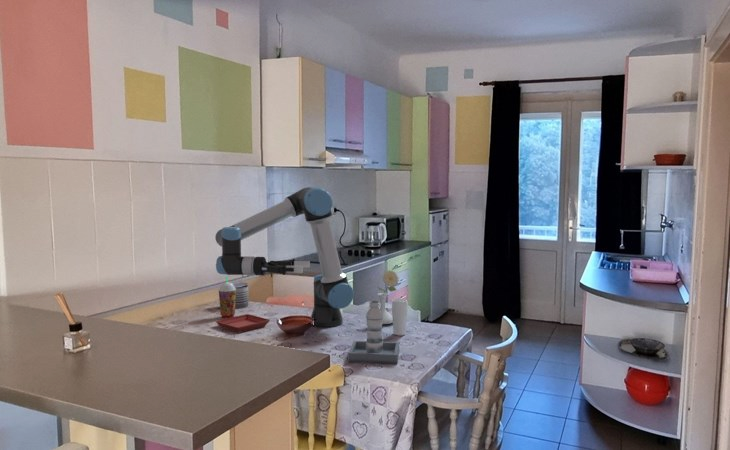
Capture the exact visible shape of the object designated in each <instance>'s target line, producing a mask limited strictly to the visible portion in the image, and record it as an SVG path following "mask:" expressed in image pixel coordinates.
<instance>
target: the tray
mask: <svg viewBox="0 0 730 450" xmlns="http://www.w3.org/2000/svg"><path fill="white" fill-rule="evenodd" d="M352 341H353V342H352V344H351V346H350V347H349V350H348V352H347V363H352V364H377V365H378V364H380V365H398V363H399V362H398V360H399V354H400V342H399V341H395V342H394V341H382V342H383V351H382V353H367V352H366V342H367V340H352Z"/></svg>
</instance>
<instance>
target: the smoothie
mask: <svg viewBox="0 0 730 450" xmlns="http://www.w3.org/2000/svg"><path fill="white" fill-rule="evenodd" d="M228 277H229V275H227V276H226V282H223V283H221V285H220V286H219V289H218V298H219V299H218V300H219V313H220V316H221V318H222V319H226V318H231V317H235V315H236V309H235V300H236V288H235V286H234V285H233V283H232V282H230V281H229V278H228Z"/></svg>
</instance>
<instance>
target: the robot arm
mask: <svg viewBox="0 0 730 450" xmlns="http://www.w3.org/2000/svg"><path fill="white" fill-rule="evenodd" d="M332 208H333V199H332V195H331V194H330V193H329V192H328V191H327V190H325V189H324V188H322V187H311V186H310V187H304V188H302V189H300V190H297V191H296V192H294V193H292V194H290V195H289V196H287V197H284V200H283V201H281V202H279V203H277V204H274V205H273V206H270V207H269V208H267V209H264V210H262V211H260V212H258V213H255V214H253V215H251V216H249V217H247V218H245V219H242V220H241V221H239V222H236V223H234V224H232V225H231V226H225V227H223V228H221V229H219V230H217V231H216V233H215V242H216V244H218V246H219V247H221V253H222V254H221V255H220V256H218V257H217V258H216V260H215V261H216V263H215V269H216V272H217V273H218V274H219V275H227V276H247V277H250V276H254V275H255V276H264V275H265V274H266V273H273V274H280V275H283V276H284V275H285V276H286V274H303V273H304V272H303V271H304V269H303V268H305V269H306V268H311V260H296V259H295V258H292V259H287V260H285V259H284V260H269V261H267V259H266V257H264V256H251V255H250V256H247V255H246V256H242V241H243V240H244V239H247V238H249V237H251V236H253V235H255V234H257V233H259V232H262V231H264V230H266V229H268V228H270V227H272V226H275V225H276V224H278V223H281V222H283V221H284V220H286V219H288V218H291V217H293V218H296V217H298V216H300V215H304V218H305V222H306V223H308V224H309V226H310V228H311V229H310V230H311V232H312V235H313V236H312V237H313V241H314V244H315V249H316V252H317V256H318V262H319V264H320V270H321V273H322V274H317V275H314V277H313V310H312V313H311V315H310V318H311V317H312V318H314V325H313V326H314V327H319V328H331V327H337V326H340V325H342V324H343V322H344V321H343V320H344V319H343V314H342V313H341V309H344V308H347V307H348V306H350V305H351V303H352V301H354V300H353V299H354V297H355V292H354V288H353V287H352V285H350V284H349V281H348V277H347V273H345V272H343V270H342V267H341V261H340V258H339V253H338V249H337V244H336V241H335V236H334V232H333V229H332V228H333V227H332V224H331V218H332V217H333V213H332Z"/></svg>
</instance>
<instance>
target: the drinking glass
mask: <svg viewBox="0 0 730 450" xmlns="http://www.w3.org/2000/svg"><path fill="white" fill-rule="evenodd" d="M408 308H409V307H408V300H407V299H405V298H393V299H392V300H391V315H392V318H393V323H392V327H393V328H392V330H393V331H392V333H393V335H395V336H399V337H401V336H404V335H406V333H407V332H406V330H407V329H406V328H407V321H408V320H407V317H408Z"/></svg>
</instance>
